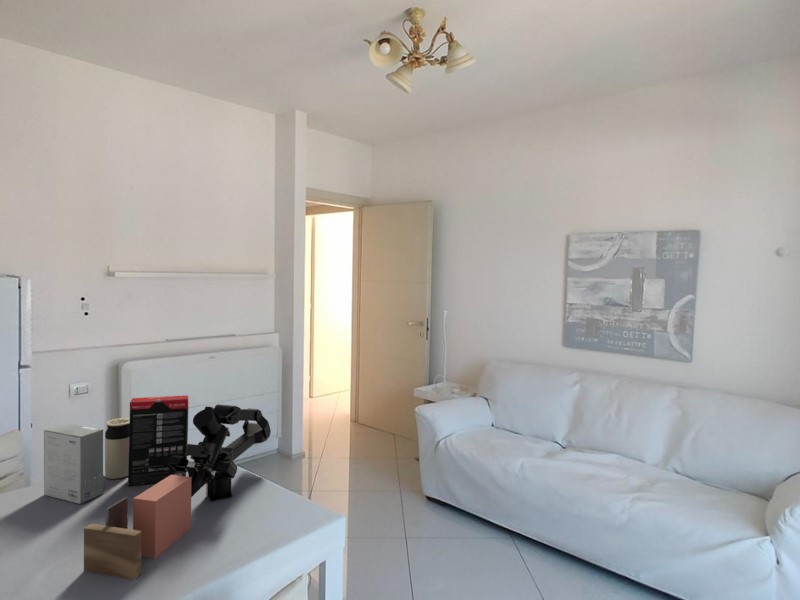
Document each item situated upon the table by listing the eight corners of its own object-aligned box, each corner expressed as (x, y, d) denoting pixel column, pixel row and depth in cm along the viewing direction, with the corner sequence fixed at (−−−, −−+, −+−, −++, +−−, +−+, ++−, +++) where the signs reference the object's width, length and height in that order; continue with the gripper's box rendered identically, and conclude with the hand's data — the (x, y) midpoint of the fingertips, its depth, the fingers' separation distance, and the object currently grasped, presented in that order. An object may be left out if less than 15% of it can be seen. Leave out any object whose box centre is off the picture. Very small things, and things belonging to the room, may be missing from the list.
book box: (170, 525, 129) (171, 474, 128) (190, 528, 128) (191, 477, 127) (132, 555, 115) (133, 498, 115) (155, 558, 114) (155, 501, 114)
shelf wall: (91, 565, 111) (91, 523, 110) (141, 574, 108) (141, 531, 108) (83, 571, 109) (83, 528, 108) (134, 579, 106) (134, 535, 106)
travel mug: (132, 477, 158) (133, 423, 157) (104, 481, 154) (104, 426, 153) (132, 468, 164) (133, 416, 164) (105, 472, 161) (105, 419, 160)
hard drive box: (104, 494, 145) (104, 429, 144) (80, 505, 138) (80, 437, 137) (67, 484, 150) (67, 422, 149) (42, 495, 143) (42, 429, 142)
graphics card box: (187, 472, 163) (188, 393, 162) (187, 480, 157) (188, 398, 155) (130, 479, 156) (130, 396, 155) (127, 488, 150) (128, 402, 148)
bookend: (110, 551, 116) (111, 494, 116) (127, 553, 116) (127, 497, 115) (90, 565, 111) (90, 506, 110) (108, 568, 110) (108, 509, 109)
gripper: (172, 427, 138) (144, 481, 128) (231, 433, 135) (208, 489, 124) (188, 445, 146) (164, 496, 136) (245, 451, 143) (224, 504, 132)
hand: (189, 496), depth 132 cm, fingers closed
